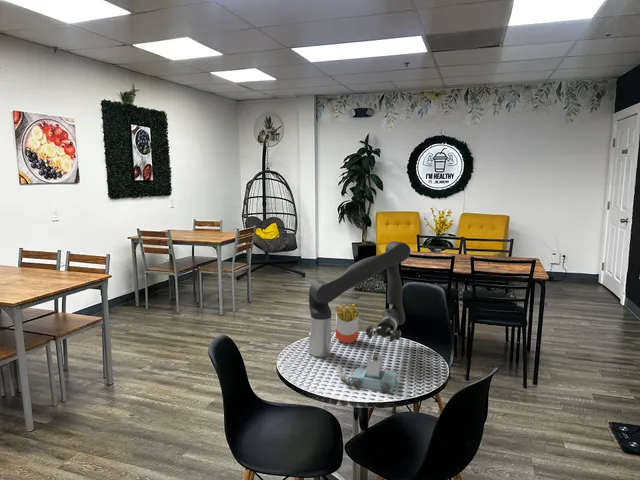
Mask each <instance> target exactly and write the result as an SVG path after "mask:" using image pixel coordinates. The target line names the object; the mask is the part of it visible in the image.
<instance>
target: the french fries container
mask: <svg viewBox="0 0 640 480" xmlns="http://www.w3.org/2000/svg"><path fill="white" fill-rule="evenodd" d="M359 312H360V311H359V310H358V308H356V307H355V303H354V304H353V303H352V304H348V306H347V307H346V304H345V303H343V304H342V306H340V305H339V304H337V305H336V311H335V338H336V339H337V340H338V341H340V343H350V344H351V343H352V344H353V343H354V342H355V341H356V340H358V339H359V316H360V315H359Z"/></svg>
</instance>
